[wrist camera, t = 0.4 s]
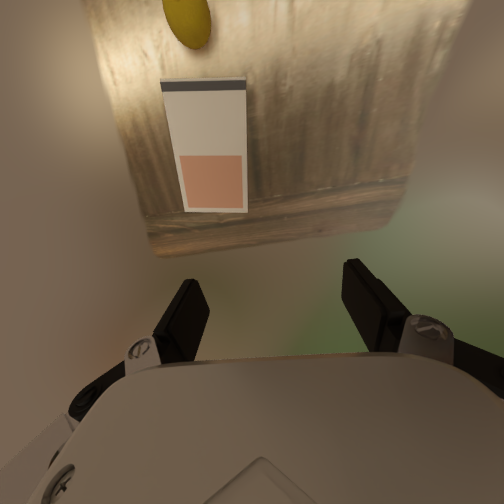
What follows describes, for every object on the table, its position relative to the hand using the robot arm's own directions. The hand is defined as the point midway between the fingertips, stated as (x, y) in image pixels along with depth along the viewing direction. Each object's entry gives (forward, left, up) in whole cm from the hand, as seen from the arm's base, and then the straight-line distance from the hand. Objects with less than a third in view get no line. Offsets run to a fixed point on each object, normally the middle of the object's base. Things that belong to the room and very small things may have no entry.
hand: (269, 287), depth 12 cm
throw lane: (-7, -11, -30) cm, 32 cm away
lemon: (-23, -11, -30) cm, 39 cm away
